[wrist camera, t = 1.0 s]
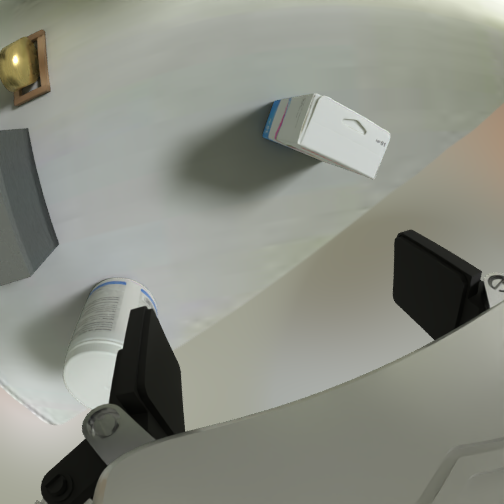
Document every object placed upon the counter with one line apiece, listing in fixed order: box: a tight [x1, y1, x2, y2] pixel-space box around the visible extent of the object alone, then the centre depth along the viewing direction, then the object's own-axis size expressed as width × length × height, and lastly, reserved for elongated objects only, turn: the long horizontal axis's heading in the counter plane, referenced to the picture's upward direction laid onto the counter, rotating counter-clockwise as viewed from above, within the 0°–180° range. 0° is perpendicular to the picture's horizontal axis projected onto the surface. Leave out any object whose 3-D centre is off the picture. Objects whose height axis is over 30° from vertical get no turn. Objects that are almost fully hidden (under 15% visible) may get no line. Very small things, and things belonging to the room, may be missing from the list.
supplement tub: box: [63, 278, 157, 410], centre depth 31 cm, size 10×10×15 cm
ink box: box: [263, 93, 390, 179], centre depth 29 cm, size 9×5×12 cm, turn 70°
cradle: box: [14, 30, 50, 106], centre depth 23 cm, size 8×5×1 cm, turn 9°
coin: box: [0, 37, 39, 92], centre depth 21 cm, size 3×6×6 cm, turn 9°
